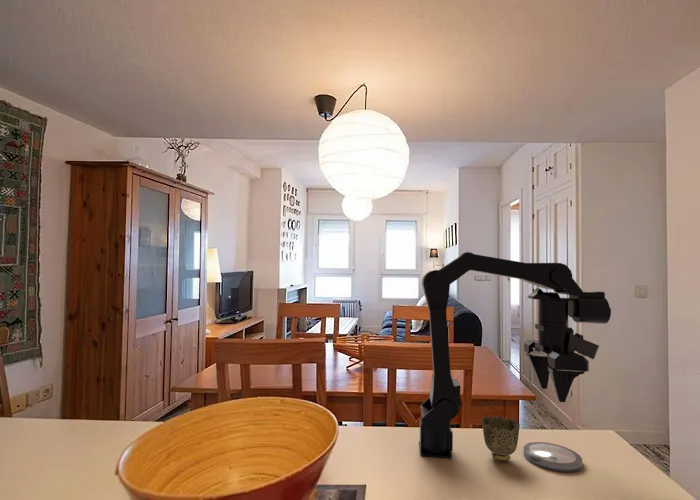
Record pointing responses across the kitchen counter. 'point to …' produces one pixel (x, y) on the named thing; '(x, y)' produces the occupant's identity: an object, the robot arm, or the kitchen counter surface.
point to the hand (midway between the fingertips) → (552, 394)
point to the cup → (500, 437)
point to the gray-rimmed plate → (553, 457)
